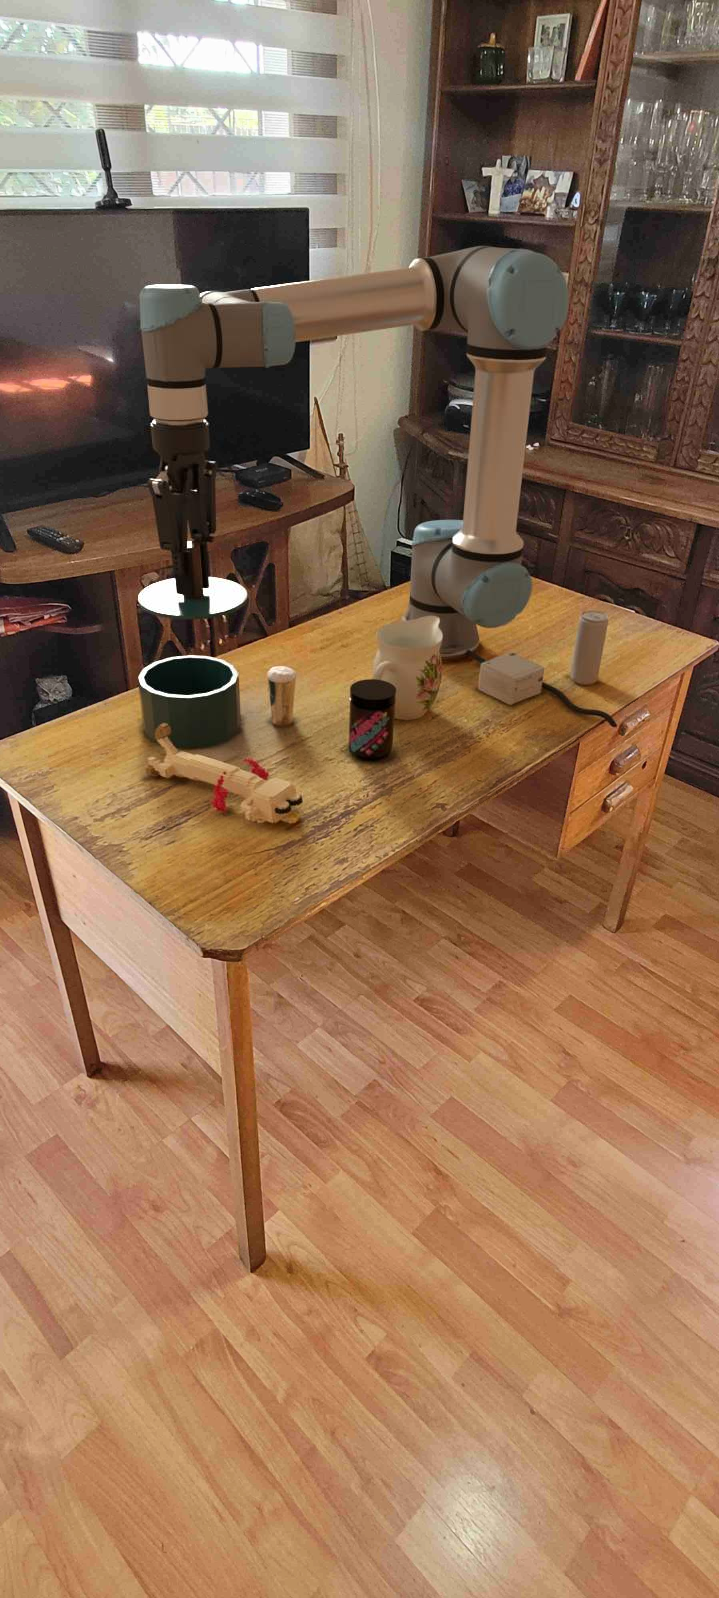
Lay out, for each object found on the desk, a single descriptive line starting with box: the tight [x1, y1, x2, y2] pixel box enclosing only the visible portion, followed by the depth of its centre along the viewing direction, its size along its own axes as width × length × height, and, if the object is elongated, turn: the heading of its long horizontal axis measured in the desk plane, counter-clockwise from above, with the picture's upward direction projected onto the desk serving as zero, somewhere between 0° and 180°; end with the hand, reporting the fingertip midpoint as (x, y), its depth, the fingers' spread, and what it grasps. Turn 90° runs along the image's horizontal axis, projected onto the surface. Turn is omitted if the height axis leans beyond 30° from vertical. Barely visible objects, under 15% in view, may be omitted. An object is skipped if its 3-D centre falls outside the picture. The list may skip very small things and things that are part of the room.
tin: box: [137, 654, 242, 749], centre depth 143 cm, size 15×15×8 cm
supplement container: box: [348, 678, 396, 762], centre depth 137 cm, size 7×7×10 cm
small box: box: [477, 652, 545, 706], centre depth 157 cm, size 8×8×5 cm
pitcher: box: [371, 616, 443, 721], centre depth 147 cm, size 11×18×14 cm, turn 146°
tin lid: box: [137, 540, 249, 621], centre depth 134 cm, size 16×16×9 cm
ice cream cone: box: [266, 665, 302, 727], centre depth 144 cm, size 5×5×10 cm
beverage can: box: [569, 610, 609, 686], centre depth 160 cm, size 5×5×12 cm
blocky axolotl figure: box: [145, 723, 305, 825], centre depth 126 cm, size 10×9×25 cm
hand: (193, 589), depth 135 cm, fingers closed on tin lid, 3 cm apart
